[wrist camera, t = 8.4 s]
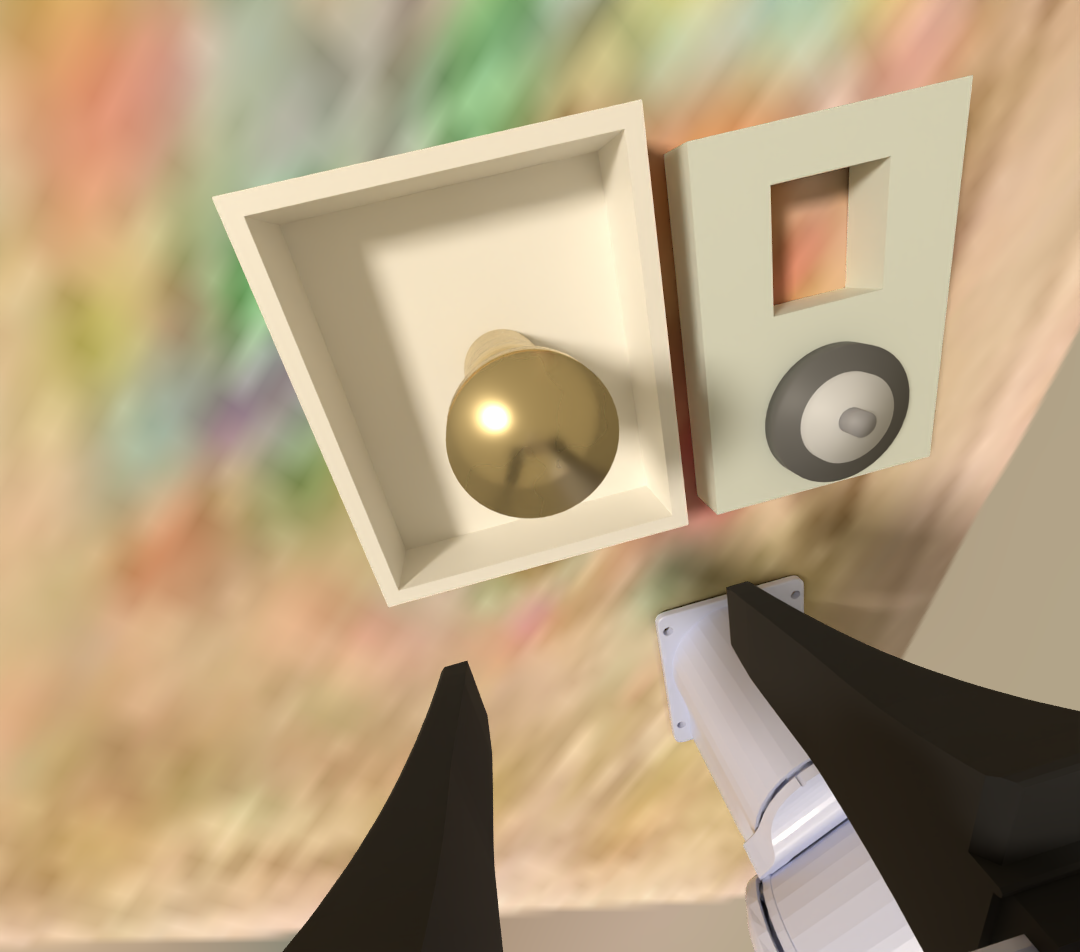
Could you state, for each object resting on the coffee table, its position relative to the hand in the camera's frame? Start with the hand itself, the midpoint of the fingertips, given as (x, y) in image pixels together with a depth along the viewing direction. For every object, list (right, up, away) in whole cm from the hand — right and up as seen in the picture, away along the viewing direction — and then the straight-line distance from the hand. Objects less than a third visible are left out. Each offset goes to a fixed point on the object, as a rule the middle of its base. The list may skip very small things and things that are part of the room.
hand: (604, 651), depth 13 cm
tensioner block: (+9, +11, +8) cm, 16 cm away
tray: (-4, +9, +7) cm, 12 cm away
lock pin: (-3, +9, +6) cm, 11 cm away
